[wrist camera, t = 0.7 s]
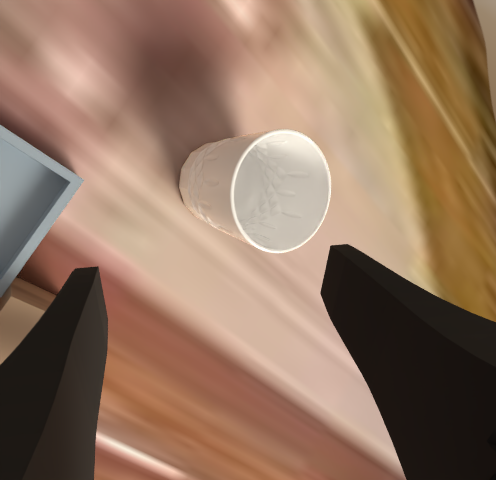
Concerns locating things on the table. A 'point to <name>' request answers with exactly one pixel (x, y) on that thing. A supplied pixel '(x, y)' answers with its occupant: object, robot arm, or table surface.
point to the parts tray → (28, 201)
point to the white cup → (259, 188)
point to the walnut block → (20, 313)
